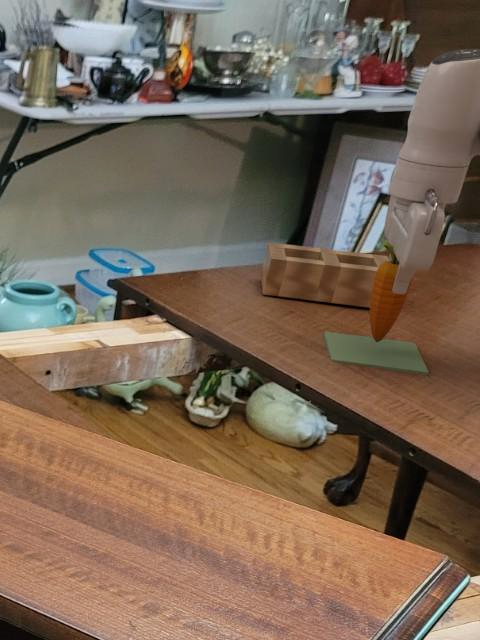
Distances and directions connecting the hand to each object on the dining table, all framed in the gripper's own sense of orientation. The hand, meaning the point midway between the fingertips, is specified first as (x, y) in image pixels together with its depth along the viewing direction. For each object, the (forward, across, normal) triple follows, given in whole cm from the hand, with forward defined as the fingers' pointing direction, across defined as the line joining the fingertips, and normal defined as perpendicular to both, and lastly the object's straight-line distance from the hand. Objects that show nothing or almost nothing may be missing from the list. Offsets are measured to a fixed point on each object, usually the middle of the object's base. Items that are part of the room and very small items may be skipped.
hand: (394, 286), depth 154 cm
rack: (+10, +31, +5) cm, 33 cm away
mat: (+10, 0, 0) cm, 10 cm away
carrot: (+8, 0, 0) cm, 8 cm away
